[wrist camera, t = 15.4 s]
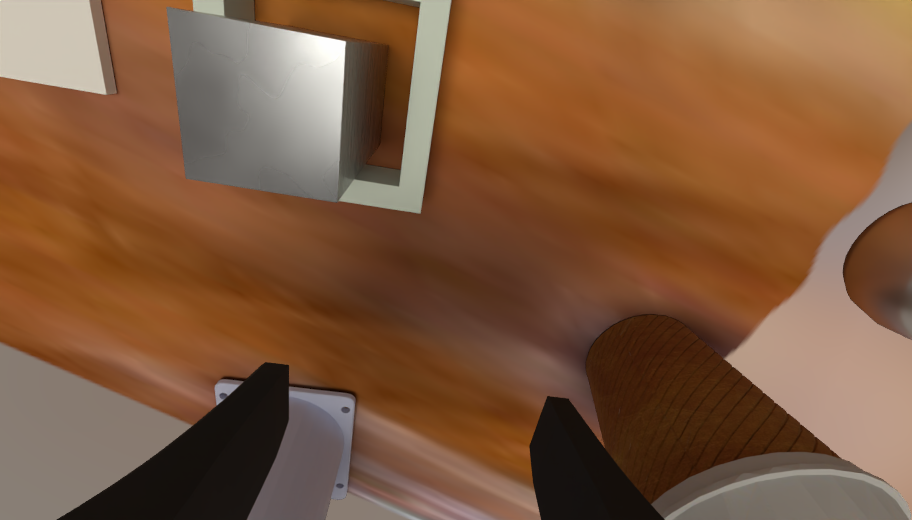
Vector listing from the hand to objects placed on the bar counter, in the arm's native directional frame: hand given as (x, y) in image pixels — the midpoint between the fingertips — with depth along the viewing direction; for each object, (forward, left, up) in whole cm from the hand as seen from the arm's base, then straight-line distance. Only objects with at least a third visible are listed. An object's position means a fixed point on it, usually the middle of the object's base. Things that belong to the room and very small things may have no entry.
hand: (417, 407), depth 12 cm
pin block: (+7, +5, -10) cm, 13 cm away
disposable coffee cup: (-5, -13, -11) cm, 18 cm away
